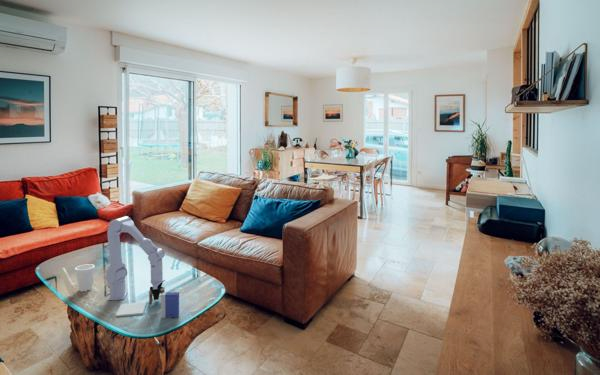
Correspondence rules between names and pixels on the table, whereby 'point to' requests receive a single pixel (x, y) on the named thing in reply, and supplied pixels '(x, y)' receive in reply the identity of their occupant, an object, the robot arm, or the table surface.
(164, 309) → the walkman
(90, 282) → the foam cup
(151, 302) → the brown forked block
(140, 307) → the mat
